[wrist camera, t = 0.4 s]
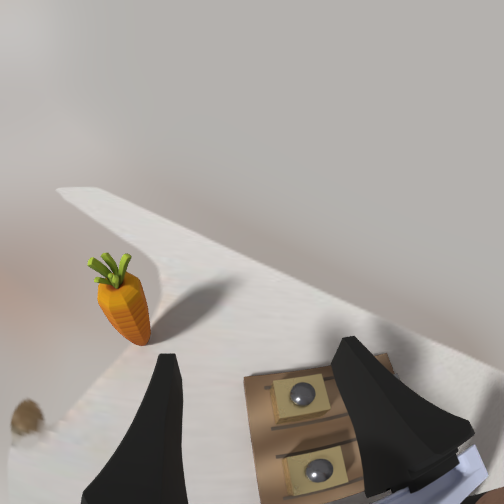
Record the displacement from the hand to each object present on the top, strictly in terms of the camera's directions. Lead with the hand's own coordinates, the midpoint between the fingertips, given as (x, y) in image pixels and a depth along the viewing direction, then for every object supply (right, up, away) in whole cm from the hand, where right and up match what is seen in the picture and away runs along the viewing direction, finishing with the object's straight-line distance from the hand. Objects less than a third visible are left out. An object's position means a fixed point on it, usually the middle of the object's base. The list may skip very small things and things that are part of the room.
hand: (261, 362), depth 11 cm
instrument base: (+9, -15, +13) cm, 21 cm away
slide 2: (+5, -16, +8) cm, 19 cm away
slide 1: (+4, -11, +14) cm, 19 cm away
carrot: (-14, -7, +20) cm, 26 cm away
